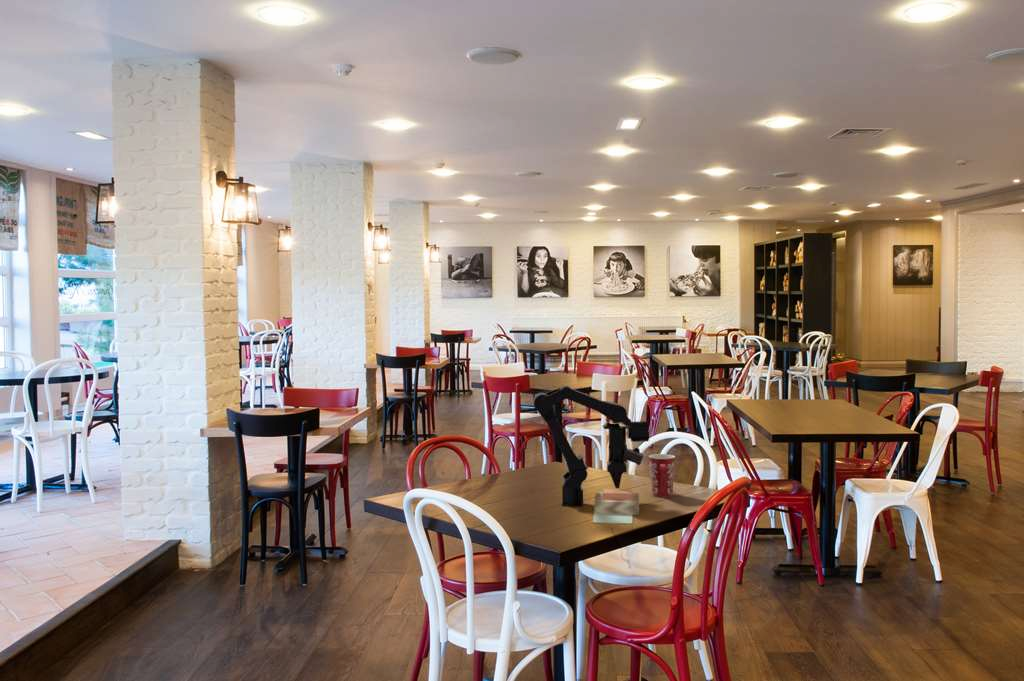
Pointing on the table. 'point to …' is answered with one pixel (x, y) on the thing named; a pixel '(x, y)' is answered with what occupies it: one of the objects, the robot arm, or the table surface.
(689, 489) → the table surface
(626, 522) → the mat
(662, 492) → the mug
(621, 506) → the deck
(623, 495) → the flat rectangular block
